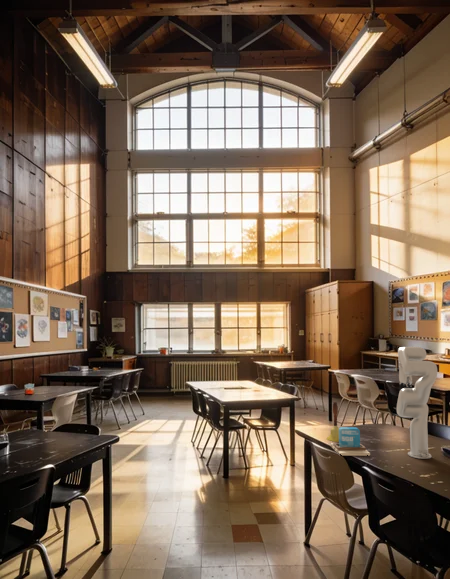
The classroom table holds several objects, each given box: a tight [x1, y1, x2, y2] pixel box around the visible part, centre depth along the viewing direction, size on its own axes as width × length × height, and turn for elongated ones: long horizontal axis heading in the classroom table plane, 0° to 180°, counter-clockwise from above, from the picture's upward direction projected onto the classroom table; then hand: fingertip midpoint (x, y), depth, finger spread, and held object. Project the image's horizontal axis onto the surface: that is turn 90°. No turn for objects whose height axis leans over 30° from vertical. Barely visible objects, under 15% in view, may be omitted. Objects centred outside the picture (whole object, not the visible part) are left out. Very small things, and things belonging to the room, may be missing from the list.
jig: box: [329, 442, 371, 457], centre depth 269 cm, size 22×18×3 cm
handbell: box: [326, 401, 340, 443], centre depth 297 cm, size 12×12×25 cm
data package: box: [338, 426, 361, 447], centre depth 269 cm, size 12×4×12 cm, turn 89°
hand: (405, 392), depth 289 cm, fingers open, 9 cm apart
